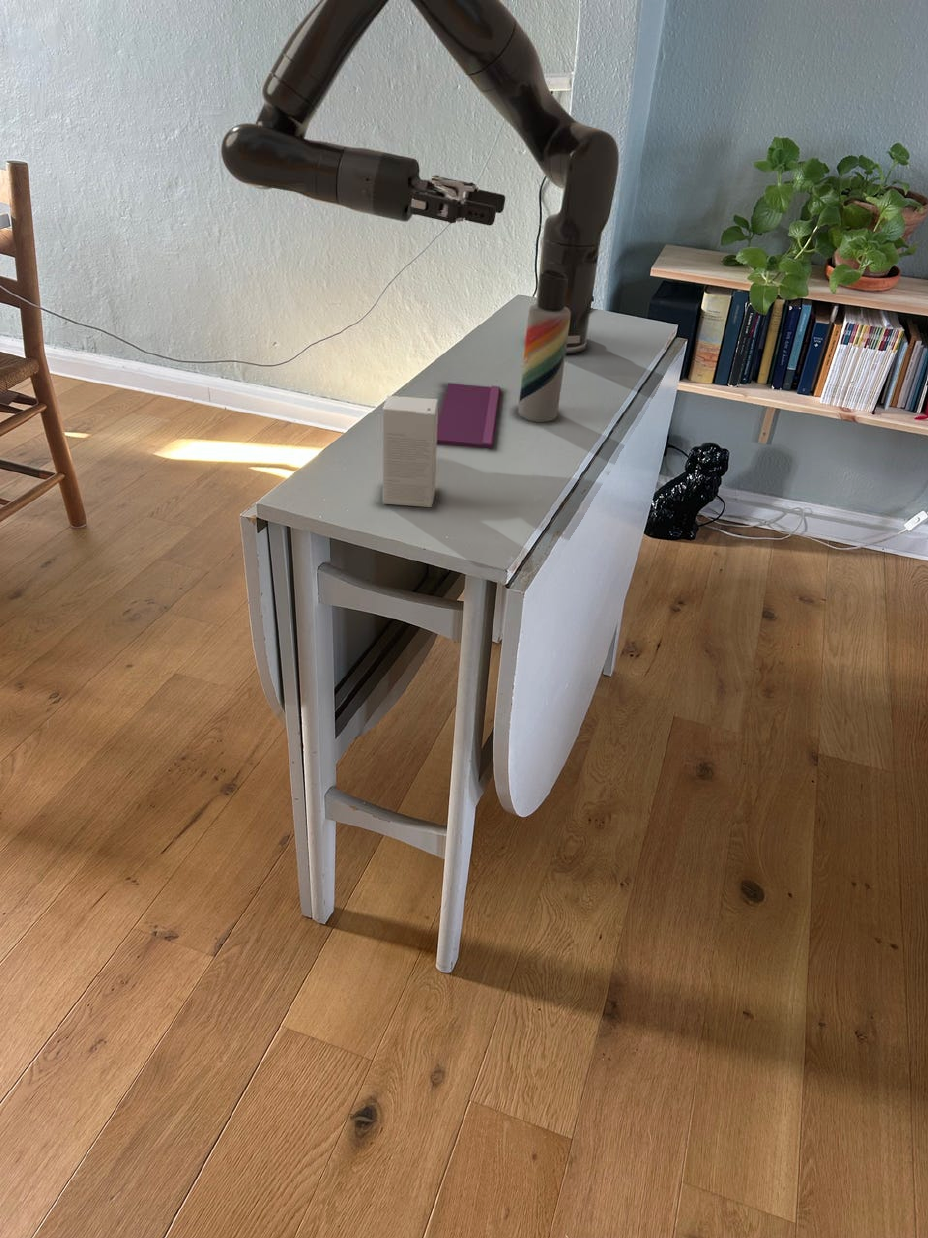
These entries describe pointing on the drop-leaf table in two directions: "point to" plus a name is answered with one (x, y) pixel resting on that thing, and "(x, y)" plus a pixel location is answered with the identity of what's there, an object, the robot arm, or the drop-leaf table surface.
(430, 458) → the cosmetic box
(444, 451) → the drop-leaf table surface
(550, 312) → the lotion bottle
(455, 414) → the purple rectangular block
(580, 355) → the drop-leaf table surface
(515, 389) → the drop-leaf table surface
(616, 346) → the drop-leaf table surface
